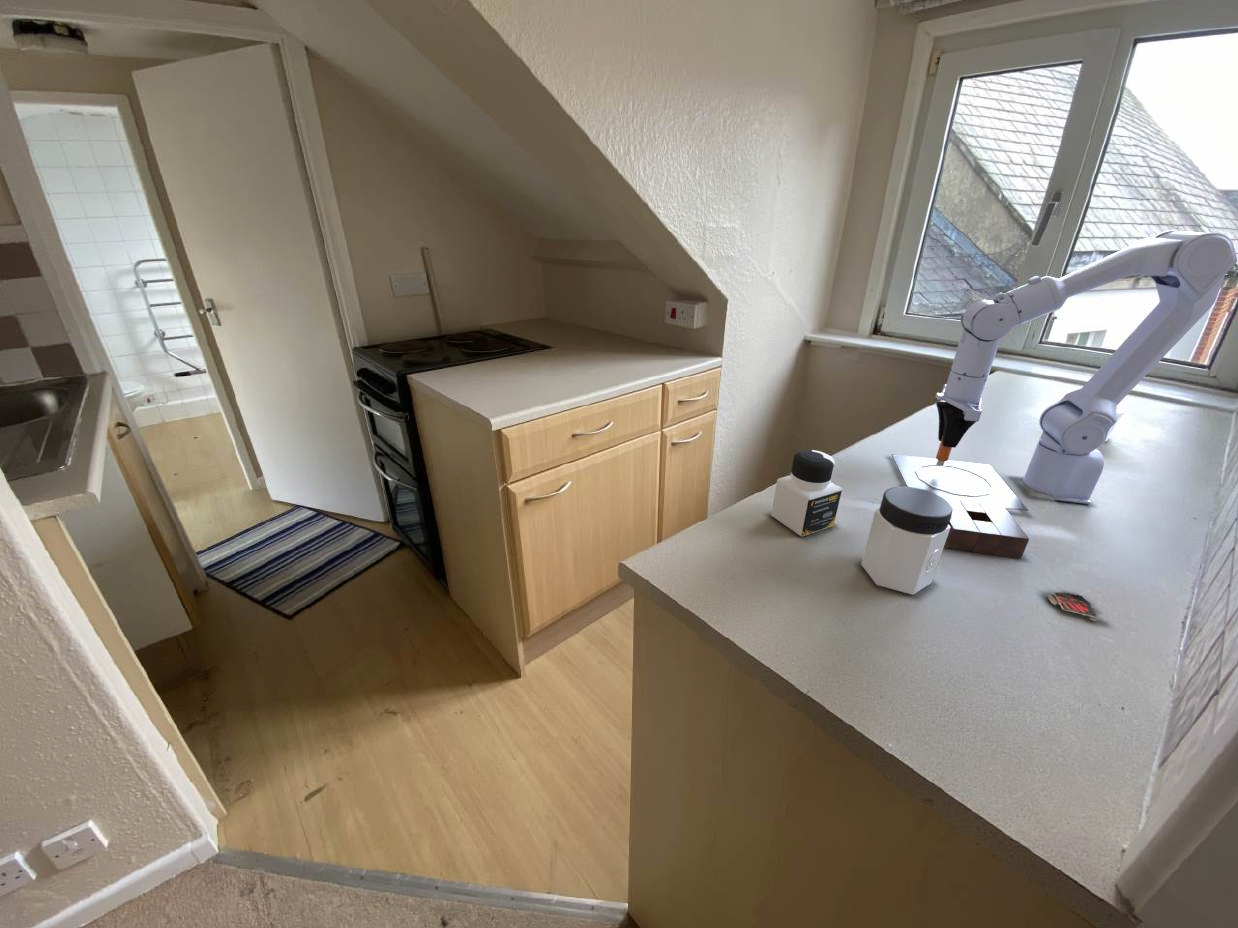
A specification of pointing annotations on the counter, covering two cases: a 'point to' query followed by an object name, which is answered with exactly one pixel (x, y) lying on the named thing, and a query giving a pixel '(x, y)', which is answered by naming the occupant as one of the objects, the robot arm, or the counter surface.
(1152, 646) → the counter surface
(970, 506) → the pen stand
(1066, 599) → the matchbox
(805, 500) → the medicine bottle
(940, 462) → the marker
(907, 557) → the jar
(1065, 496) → the robot arm
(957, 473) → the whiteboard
